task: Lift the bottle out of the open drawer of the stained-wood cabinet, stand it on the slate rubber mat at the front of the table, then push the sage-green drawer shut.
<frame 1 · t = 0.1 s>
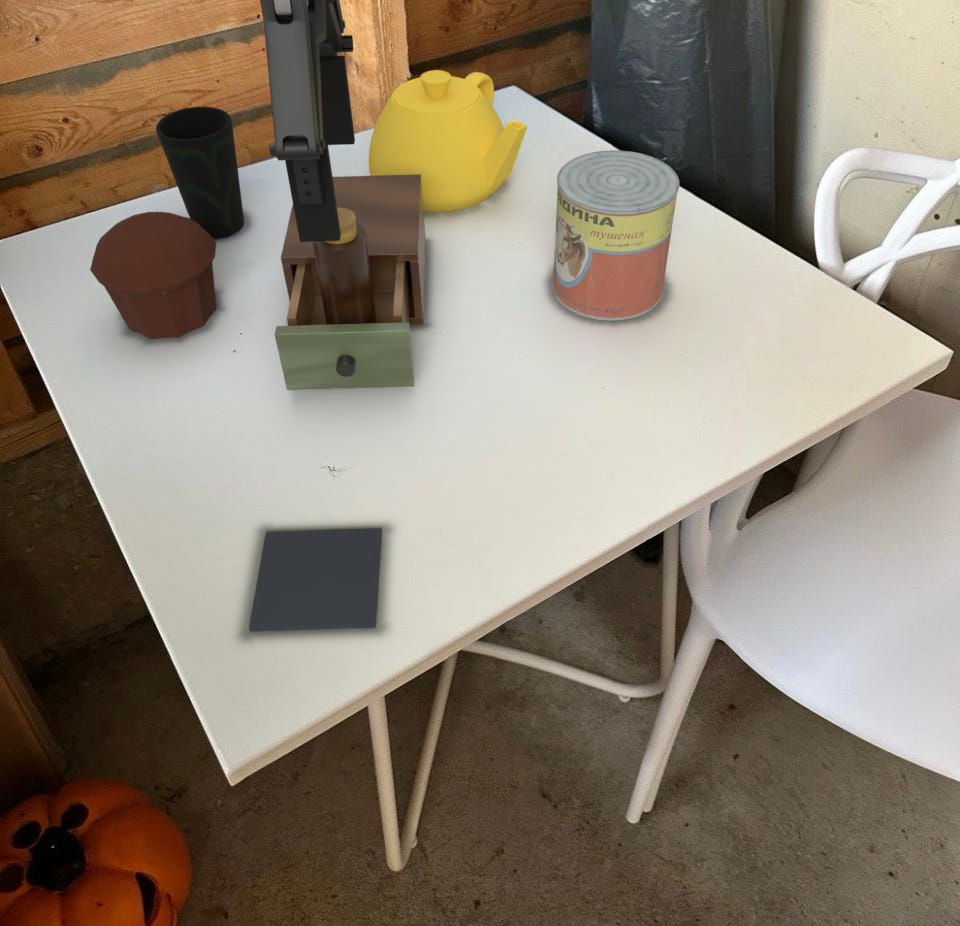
hand: (329, 187, 67), 21 cm above the table, tool pointing down, fingers open, 13 cm apart
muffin: (172, 313, 93), on the table
cabinet: (363, 283, 96), on the table
teapot: (458, 183, 110), on the table
canned food: (607, 288, 95), on the table
bottle: (353, 337, 86), point 2 cm above the table, touching drawer
drawer: (351, 318, 85), point 4 cm above the table, slide at 9.0 cm, touching bottle
mat: (318, 579, 69), on the table
cup: (219, 226, 104), on the table
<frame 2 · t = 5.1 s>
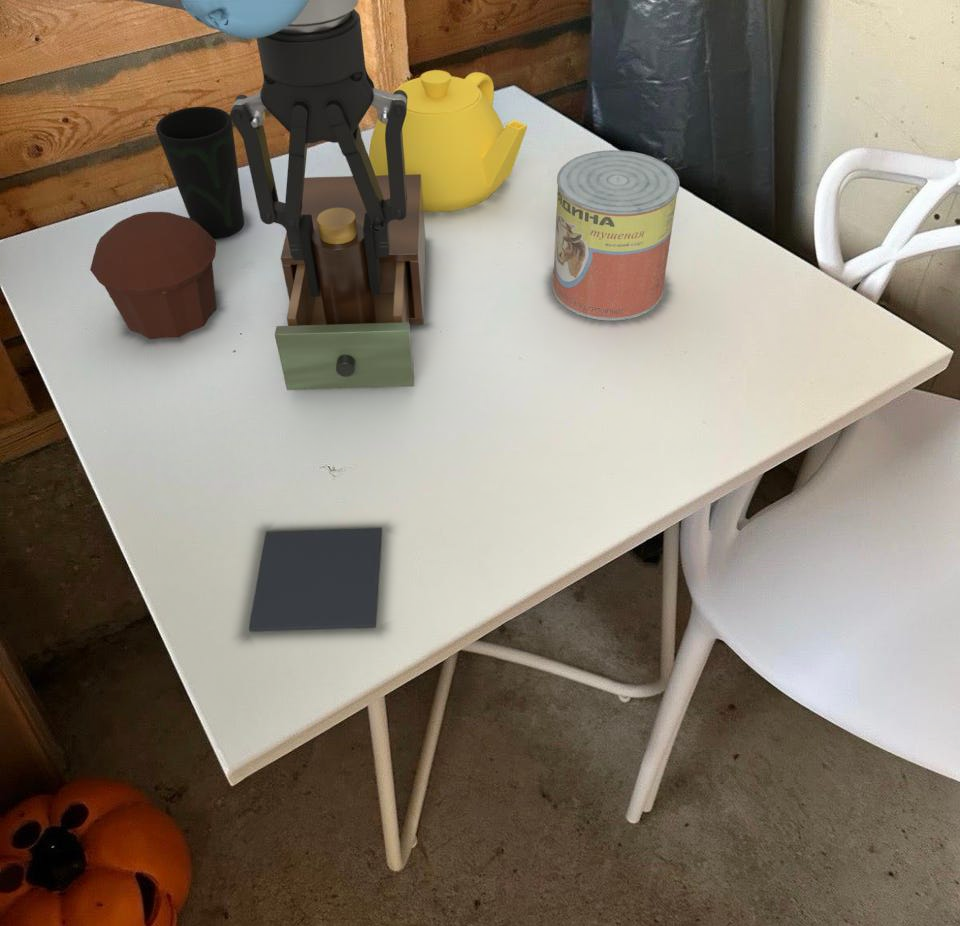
hand: (346, 286, 82), 8 cm above the table, tool pointing down, fingers closed on bottle, 5 cm apart
bottle: (353, 337, 86), point 2 cm above the table, touching drawer, gripper
everything else where it was.
when the fingers open (6 cm above the table, at t = 12.6 s): bottle stays where it is, resting on mat.
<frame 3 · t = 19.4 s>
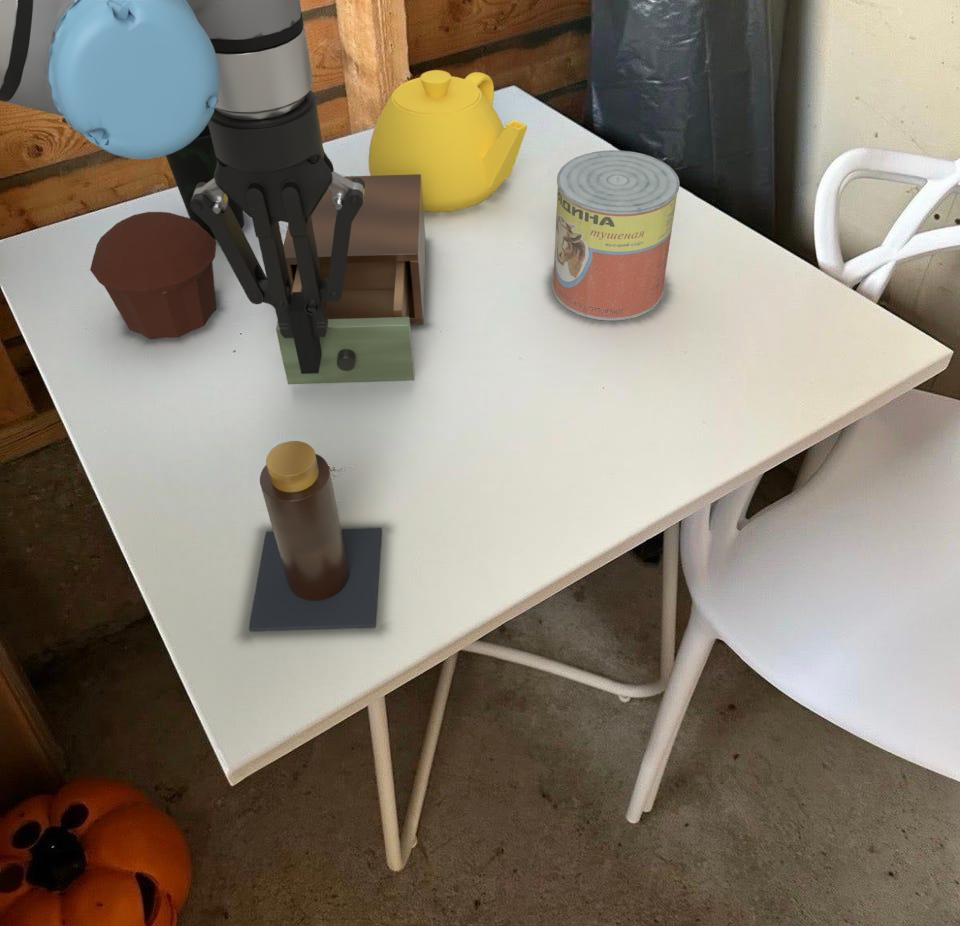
hand: (311, 363, 80), 5 cm above the table, tool pointing down, fingers closed
bottle: (318, 575, 69), resting on mat
drawer: (351, 313, 85), point 4 cm above the table, slide at 8.2 cm, touching gripper
everything else where it was.
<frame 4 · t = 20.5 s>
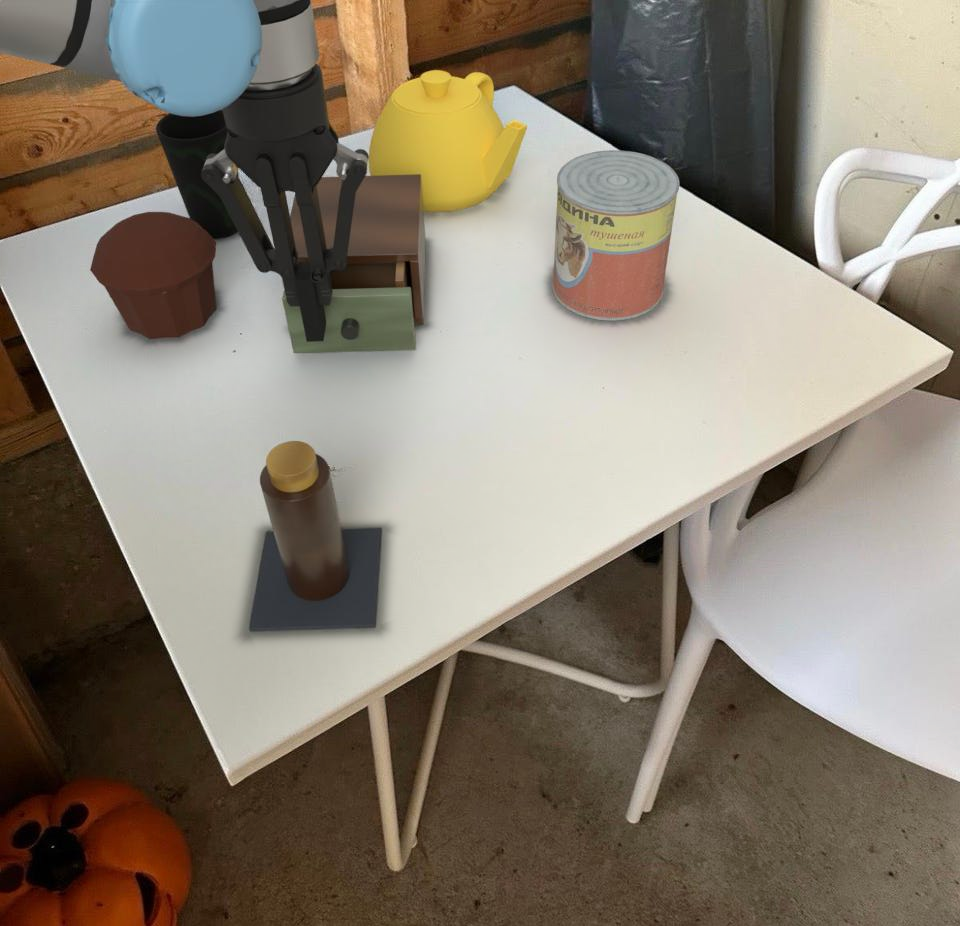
hand: (316, 331, 83), 5 cm above the table, tool pointing down, fingers closed
drawer: (355, 285, 89), point 4 cm above the table, slide at 3.8 cm, touching gripper
everything else where it was.
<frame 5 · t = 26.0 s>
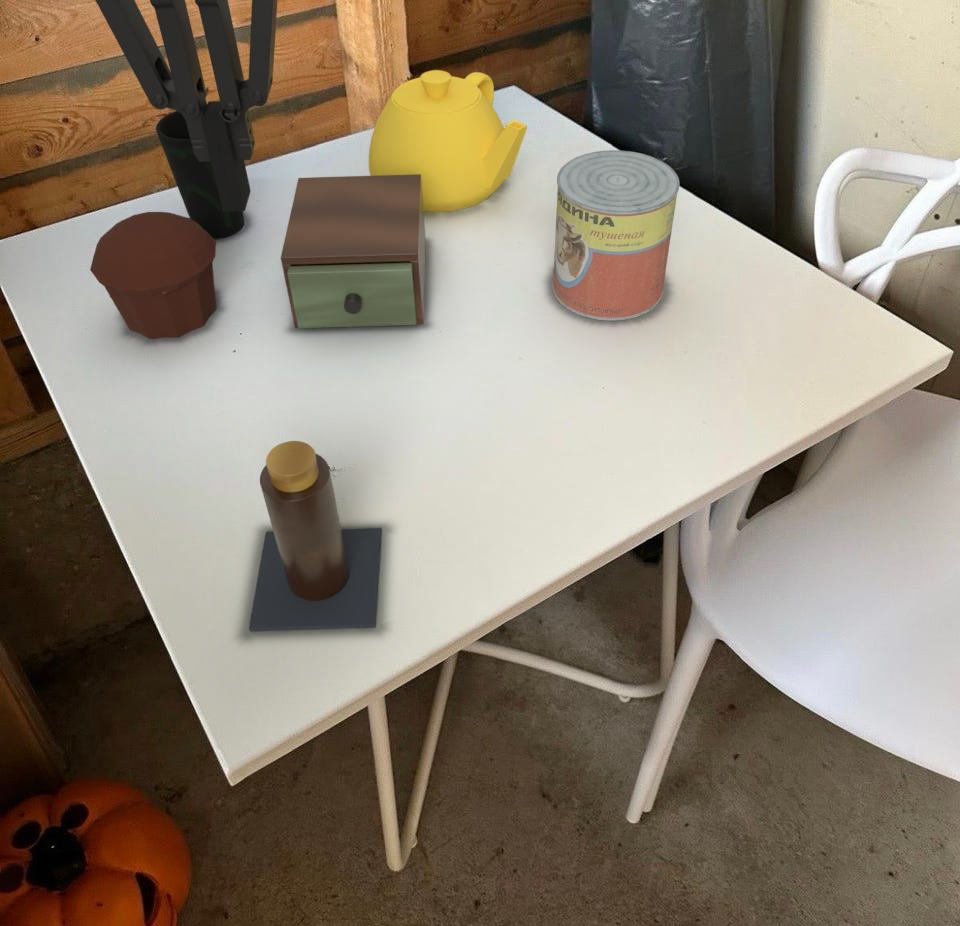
hand: (237, 200, 64), 22 cm above the table, tool pointing down, fingers closed
drawer: (357, 262, 91), point 4 cm above the table, slide at 0.0 cm, touching cabinet
everything else where it was.
at the end: bottle 0.1 cm off-centre on the mat, point 0.4 cm above the mat's base; bottle tilted 0°; drawer slide at 0.0 cm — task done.
